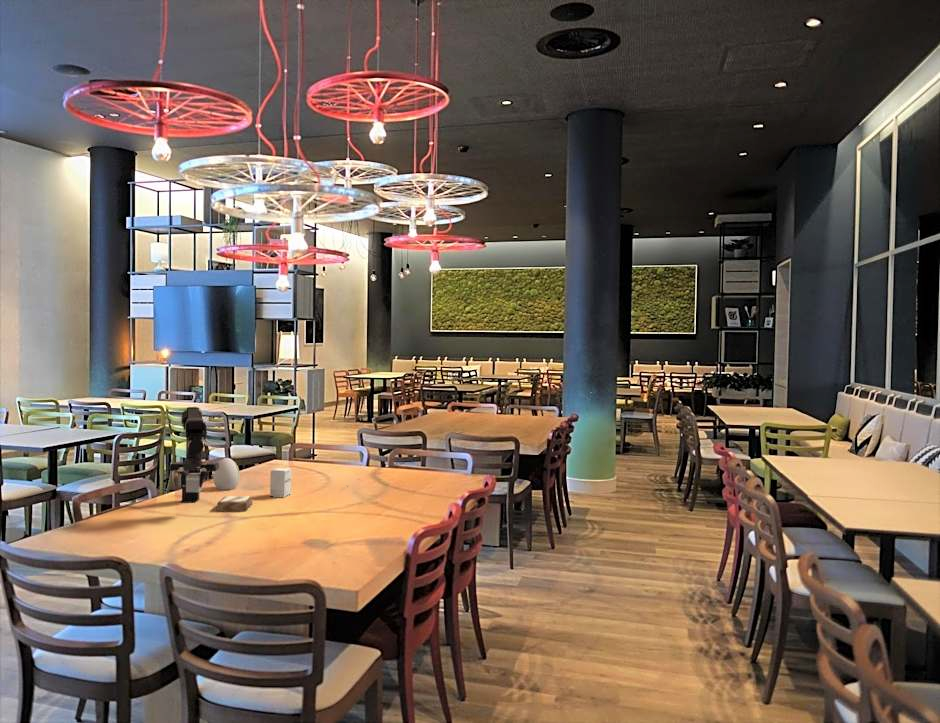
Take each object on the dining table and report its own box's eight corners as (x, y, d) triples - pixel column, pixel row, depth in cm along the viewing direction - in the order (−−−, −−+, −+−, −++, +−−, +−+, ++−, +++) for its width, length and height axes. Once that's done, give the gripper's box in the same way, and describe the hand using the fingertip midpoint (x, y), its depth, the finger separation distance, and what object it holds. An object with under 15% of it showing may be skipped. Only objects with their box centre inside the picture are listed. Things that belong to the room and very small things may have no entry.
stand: (217, 511, 299) (217, 501, 299) (224, 504, 311) (224, 495, 311) (246, 511, 300) (246, 501, 300) (252, 504, 312) (252, 495, 312)
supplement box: (284, 497, 327) (284, 470, 327) (269, 496, 329) (270, 470, 328) (291, 494, 334) (291, 468, 334) (277, 493, 336) (277, 467, 336)
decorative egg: (244, 487, 348) (245, 457, 347) (225, 492, 337) (226, 461, 336) (227, 484, 353) (227, 455, 353) (207, 489, 342) (208, 458, 342)
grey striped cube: (185, 492, 289) (186, 475, 289) (189, 489, 294) (189, 473, 294) (198, 492, 290) (198, 475, 289) (202, 489, 295) (202, 473, 294)
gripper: (164, 452, 283) (164, 491, 283) (212, 453, 284) (211, 491, 285) (174, 448, 294) (173, 485, 294) (219, 449, 295) (219, 485, 296)
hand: (194, 487), depth 292 cm, fingers closed on grey striped cube, 5 cm apart
